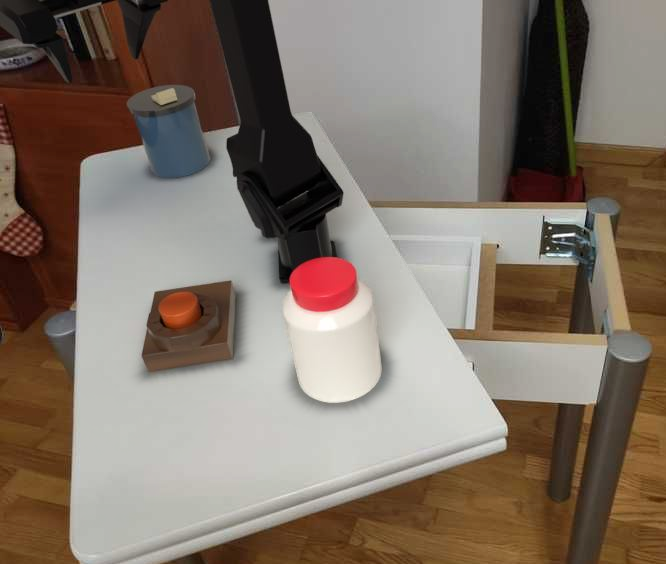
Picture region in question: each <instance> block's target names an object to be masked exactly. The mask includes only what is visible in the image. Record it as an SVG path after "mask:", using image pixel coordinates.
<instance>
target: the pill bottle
mask: <svg viewBox="0 0 666 564" xmlns="http://www.w3.org/2000/svg"><path fill="white" fill-rule="evenodd" d="M289 286H290V289H289V290H288V291H287V293H286V294H285V296H284V297H283V300H282V303H281V313H282V318H283V322H284V326H285V330H286V331H285V332H286V335H287V339H288V343H289V348H290V351H291V355H292V359H293V363H294V369H295V371H296V376H297V377H296V378H297V380H298V383H299V386H300V388H301V390H302V391H303V392H304V393H305V394H306V395H307V396H308V397H310V398H312V399H314V400H316V401H320V402H323V403H330V404H333V403H336V404H337V403H338V404H340V403H346V402H350V401H353V400H356V399H358V398H361V397H363V396H364V395H366V394H368V393H370V391H371V390H373V389H374V388H375V387H376V385H377V384H378V382H379V381H380V379H381V376H382V369H383V368H382V367H383V365H382V358H381V349H380V342H379V341H380V340H379V332H378V326H377V325H378V323H377V317H376V308H375V300H374V293H373V292H372V290H371V288H370V286H369V285H368V284H367V283H366V282H365V281H363V280H362V279H360V278H358V274H357V269H356V267H355V266H354V265H353V263H351V262H349V261H348V260H346V259H344V258H340V257H337V258H336V257H322V258H316V259H312V260H309V261H307V262H305V263H303V264H301V265H300V266H298V267H297V268H296V269H295V270H294V271H293V272H292V274H291V276H290V283H289Z"/></svg>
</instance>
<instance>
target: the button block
mask: <svg viewBox="0 0 666 564" xmlns="http://www.w3.org/2000/svg"><path fill="white" fill-rule="evenodd" d="M178 292H189V293H192V294H194V295H195V296H196V297H197V300H198V302H199V305H200V308H201V311H202V316H201V318H200V319H199V320H198V321H197V322H196V323H194V324H192V325H190V326H188V327H186V328H181V329H170V328H167V327H166V326H165V325H164V322H163V320H162V317H161V315H160V312H159V309H158V308H159V304H160V303H161V301H162V300H163V299H164V298H166V297H167V296H169V295H171V294H174V293H178ZM236 303H237V296H236V291H235V289H234V285H233V281H232V280H223V281H217V282H210V283H204V284H197V285H189V286H184V287H177V288H176V287H175V288H169V289H163V290H156V291H154V294H153V298H152V303H151V308H150V311H149V313H148V316H147V321H146V331H145V337H144V342H143V347H142V351H141V358H142V361H143V364H144V365H145V367H146V369H147V372H148V373H154V372H161V371H166V370H173V369H179V368H186V367H193V366H199V365H204V364H205V365H206V364H212V363H218V362H223V361H224V362H225V361H231V360H233V359H234V343H235V342H234V341H235V339H234V338H235V321H236Z"/></svg>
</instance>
